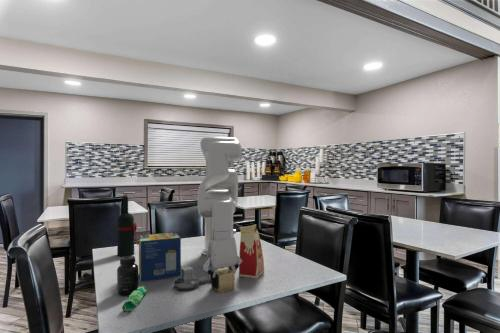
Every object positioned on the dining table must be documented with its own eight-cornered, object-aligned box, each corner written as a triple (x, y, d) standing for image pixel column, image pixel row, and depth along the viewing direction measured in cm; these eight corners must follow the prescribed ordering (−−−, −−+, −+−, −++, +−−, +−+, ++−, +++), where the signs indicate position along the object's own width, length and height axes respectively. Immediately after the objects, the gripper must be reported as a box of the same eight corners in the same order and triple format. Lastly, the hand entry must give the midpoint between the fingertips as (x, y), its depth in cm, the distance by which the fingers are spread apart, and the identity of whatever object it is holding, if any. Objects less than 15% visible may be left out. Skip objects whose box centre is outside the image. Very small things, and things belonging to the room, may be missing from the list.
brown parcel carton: (226, 283, 110) (226, 267, 110) (234, 288, 105) (234, 271, 105) (211, 287, 107) (211, 270, 107) (219, 292, 102) (219, 275, 102)
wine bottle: (136, 256, 145) (135, 194, 145) (114, 257, 144) (114, 195, 144) (141, 252, 152) (140, 193, 153) (121, 252, 152) (120, 193, 152)
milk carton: (264, 270, 123) (263, 222, 124) (257, 278, 115) (257, 226, 115) (243, 268, 126) (243, 221, 126) (235, 276, 118) (235, 225, 118)
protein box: (138, 273, 122) (138, 235, 122) (176, 268, 128) (176, 231, 128) (140, 282, 112) (139, 241, 112) (181, 276, 118) (181, 237, 118)
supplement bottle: (121, 288, 106) (121, 254, 106) (140, 287, 107) (140, 254, 107) (114, 297, 99) (113, 260, 99) (135, 296, 100) (135, 260, 100)
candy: (136, 309, 89) (129, 297, 89) (127, 315, 89) (119, 304, 89) (149, 292, 101) (142, 282, 101) (141, 298, 101) (134, 288, 101)
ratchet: (226, 272, 122) (226, 256, 122) (237, 279, 114) (237, 262, 114) (170, 284, 110) (170, 267, 110) (179, 293, 102) (179, 274, 102)
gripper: (238, 229, 114) (238, 277, 114) (195, 235, 105) (196, 287, 105) (248, 233, 108) (249, 283, 108) (204, 240, 98) (204, 294, 98)
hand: (223, 284), depth 106 cm, fingers closed on brown parcel carton, 6 cm apart
